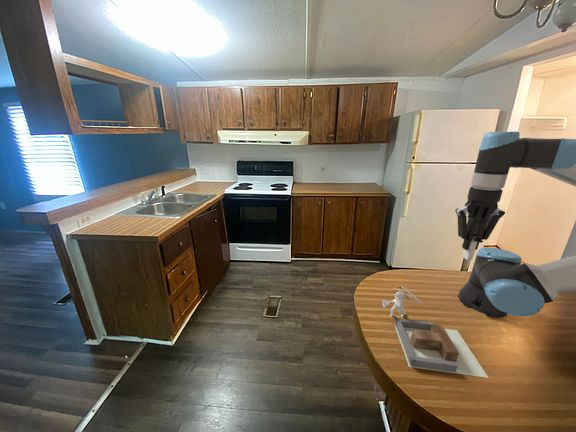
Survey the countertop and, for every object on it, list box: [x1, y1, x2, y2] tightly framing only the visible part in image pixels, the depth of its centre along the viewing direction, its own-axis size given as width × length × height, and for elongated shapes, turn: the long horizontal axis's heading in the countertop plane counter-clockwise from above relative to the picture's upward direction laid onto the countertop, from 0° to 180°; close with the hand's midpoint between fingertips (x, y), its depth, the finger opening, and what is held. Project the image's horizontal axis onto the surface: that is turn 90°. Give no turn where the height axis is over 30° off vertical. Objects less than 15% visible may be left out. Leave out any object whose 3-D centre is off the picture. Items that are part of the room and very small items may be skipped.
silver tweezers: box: [394, 285, 423, 304], centre depth 91 cm, size 17×5×2 cm, turn 27°
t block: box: [411, 323, 459, 362], centre depth 70 cm, size 10×10×4 cm
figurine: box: [381, 291, 407, 317], centre depth 80 cm, size 5×9×12 cm, turn 109°
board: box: [393, 318, 489, 379], centre depth 70 cm, size 20×16×3 cm
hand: (466, 258), depth 75 cm, fingers closed
